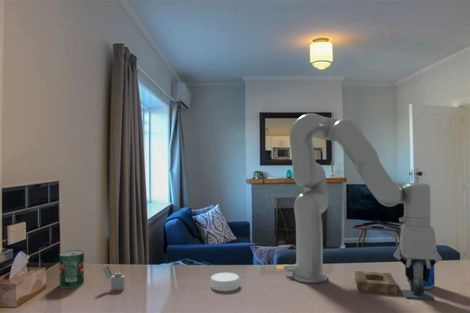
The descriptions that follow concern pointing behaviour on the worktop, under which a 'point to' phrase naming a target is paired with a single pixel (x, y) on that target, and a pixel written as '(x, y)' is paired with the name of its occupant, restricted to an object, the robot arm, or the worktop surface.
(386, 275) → the pocket block
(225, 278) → the white cheese wheel
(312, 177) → the robot arm
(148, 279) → the worktop surface
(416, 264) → the rod
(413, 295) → the mat
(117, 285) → the lighter
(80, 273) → the canned tomato
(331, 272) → the worktop surface
